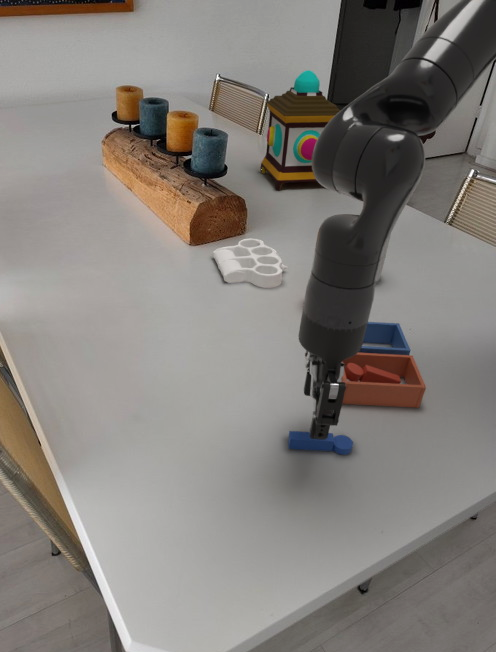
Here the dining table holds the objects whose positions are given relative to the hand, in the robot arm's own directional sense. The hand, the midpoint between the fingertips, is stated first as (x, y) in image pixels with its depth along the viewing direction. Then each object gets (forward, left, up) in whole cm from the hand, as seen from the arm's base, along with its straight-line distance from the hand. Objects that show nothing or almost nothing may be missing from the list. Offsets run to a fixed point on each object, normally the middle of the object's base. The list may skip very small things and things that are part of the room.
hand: (314, 414), depth 72 cm
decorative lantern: (-7, -113, -6) cm, 113 cm away
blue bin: (-12, -23, -6) cm, 27 cm away
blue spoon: (-2, 0, -6) cm, 6 cm away
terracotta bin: (-12, -13, -6) cm, 19 cm away
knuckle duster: (+7, -53, -6) cm, 54 cm away
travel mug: (-17, -51, -6) cm, 54 cm away
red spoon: (-10, -13, -4) cm, 17 cm away
